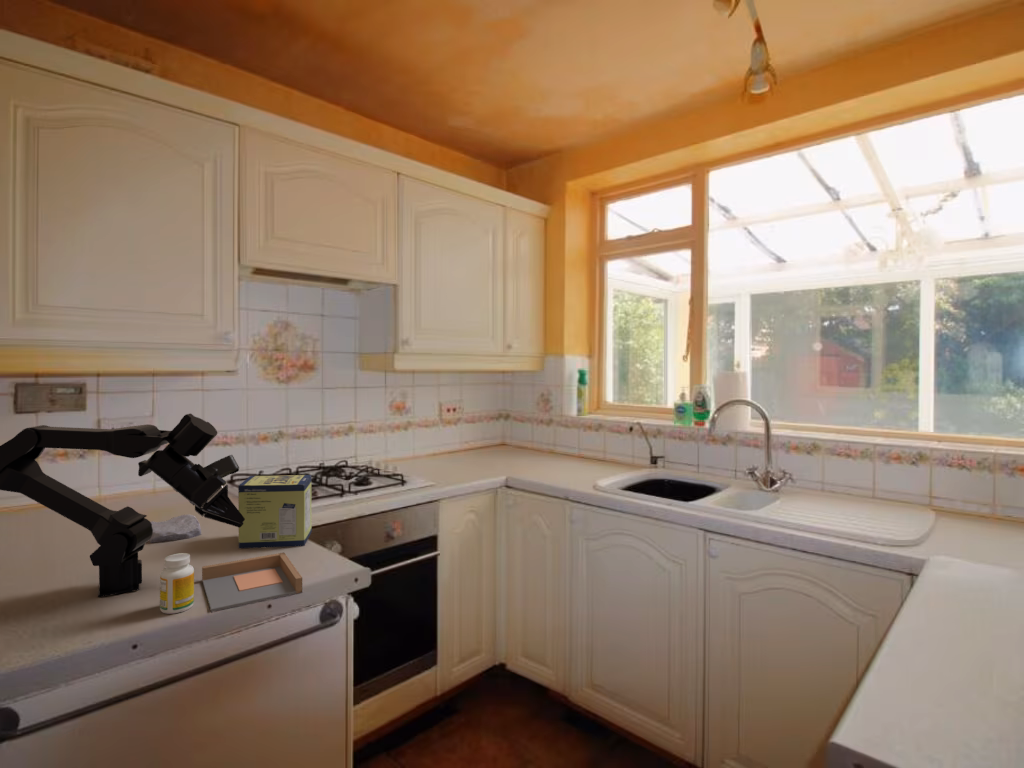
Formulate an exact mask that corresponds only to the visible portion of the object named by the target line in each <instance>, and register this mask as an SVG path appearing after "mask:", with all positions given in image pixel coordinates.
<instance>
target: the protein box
mask: <svg viewBox="0 0 1024 768" xmlns="http://www.w3.org/2000/svg"><path fill="white" fill-rule="evenodd" d="M237 487H238V491H237V492H238V501H237V502H238V510H239V512H240V513H241V514H242V516H243V517H244V518H245V520H244V521H243V523H244V524H243V525H242V526H241V527H240V528H239V527H238V549H260V548H261V547H266V548H287V547H289V548H290V547H304V546H306V544H307V542H308V540H309V538H310V536H311V535H312V533H313V529H312V526H313V525H312V475H310V474H302V475H301V474H297V475H296V474H294V475H292V474H291V475H250V476H249V477H247V478H246V479H245V480H243V481H242V482H241V483H240V484H238V486H237ZM261 549H262V548H261Z"/></svg>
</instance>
